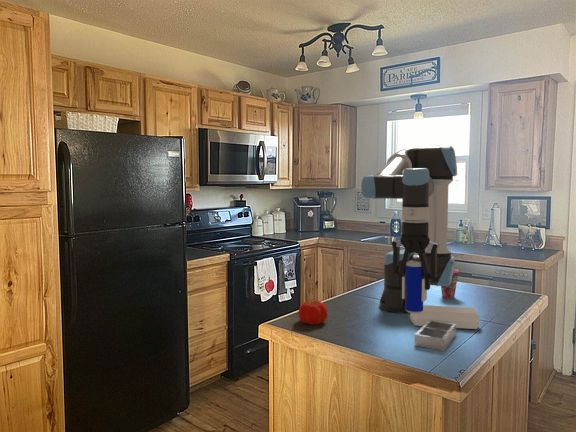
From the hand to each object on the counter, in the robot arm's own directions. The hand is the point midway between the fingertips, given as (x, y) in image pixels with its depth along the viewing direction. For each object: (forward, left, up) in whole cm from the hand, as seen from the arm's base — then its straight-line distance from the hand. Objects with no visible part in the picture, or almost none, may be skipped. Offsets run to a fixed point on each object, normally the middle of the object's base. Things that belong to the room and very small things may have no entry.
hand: (414, 298), depth 132 cm
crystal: (+2, +31, -17) cm, 35 cm away
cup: (-5, +71, -17) cm, 73 cm away
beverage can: (0, 0, -4) cm, 4 cm away
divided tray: (+3, +15, -17) cm, 22 cm away
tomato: (-40, +10, -17) cm, 44 cm away
